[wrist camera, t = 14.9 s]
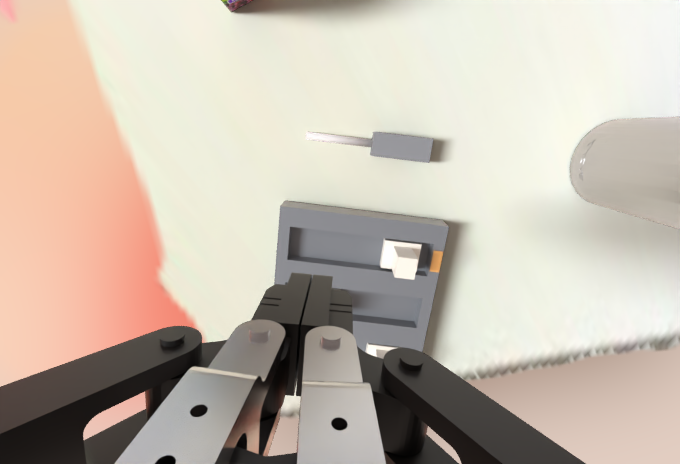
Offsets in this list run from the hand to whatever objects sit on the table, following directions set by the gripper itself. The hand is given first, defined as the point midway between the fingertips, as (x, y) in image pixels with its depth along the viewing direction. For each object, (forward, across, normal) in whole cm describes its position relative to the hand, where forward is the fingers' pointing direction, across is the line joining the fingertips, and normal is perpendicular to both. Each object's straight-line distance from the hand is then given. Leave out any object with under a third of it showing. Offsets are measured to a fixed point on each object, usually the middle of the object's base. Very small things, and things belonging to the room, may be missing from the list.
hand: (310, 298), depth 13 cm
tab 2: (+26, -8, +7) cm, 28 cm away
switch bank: (+28, -3, +13) cm, 31 cm away
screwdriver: (+28, -3, -5) cm, 29 cm away
